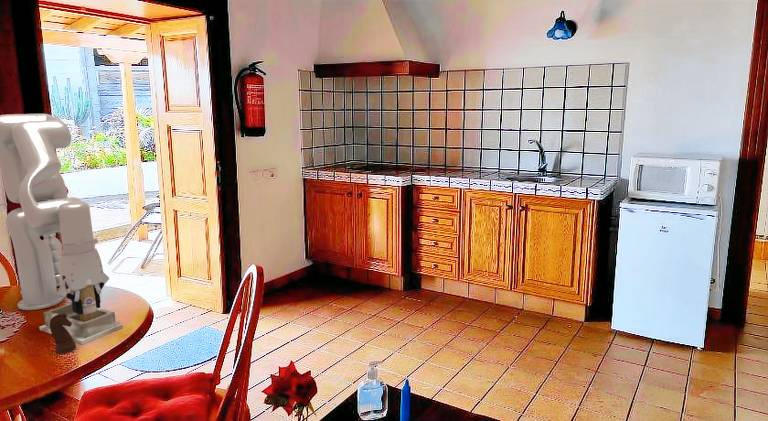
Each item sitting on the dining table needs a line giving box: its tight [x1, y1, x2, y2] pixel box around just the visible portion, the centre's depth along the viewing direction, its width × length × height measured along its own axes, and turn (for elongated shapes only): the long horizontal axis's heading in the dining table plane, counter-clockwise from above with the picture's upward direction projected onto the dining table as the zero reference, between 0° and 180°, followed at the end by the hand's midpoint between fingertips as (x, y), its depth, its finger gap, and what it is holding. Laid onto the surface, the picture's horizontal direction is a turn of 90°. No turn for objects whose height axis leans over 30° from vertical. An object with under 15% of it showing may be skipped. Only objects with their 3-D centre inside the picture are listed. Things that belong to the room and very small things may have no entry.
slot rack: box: [38, 302, 123, 345], centre depth 154 cm, size 20×12×5 cm, turn 61°
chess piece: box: [50, 313, 77, 355], centre depth 140 cm, size 5×5×10 cm
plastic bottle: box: [42, 233, 63, 287], centre depth 188 cm, size 6×7×20 cm
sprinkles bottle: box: [79, 279, 97, 322], centre depth 150 cm, size 5×5×14 cm
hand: (87, 309), depth 151 cm, fingers closed on sprinkles bottle, 4 cm apart
